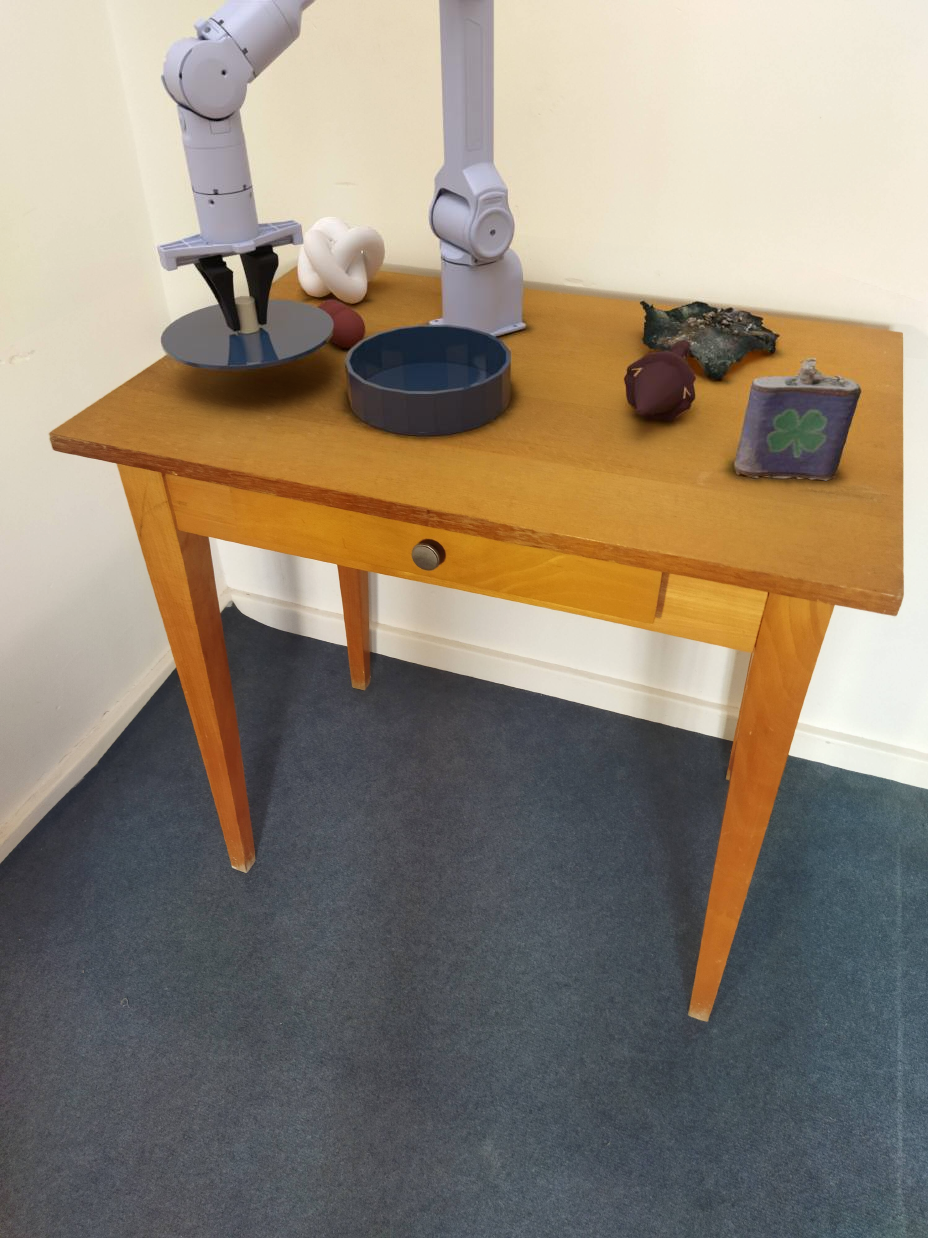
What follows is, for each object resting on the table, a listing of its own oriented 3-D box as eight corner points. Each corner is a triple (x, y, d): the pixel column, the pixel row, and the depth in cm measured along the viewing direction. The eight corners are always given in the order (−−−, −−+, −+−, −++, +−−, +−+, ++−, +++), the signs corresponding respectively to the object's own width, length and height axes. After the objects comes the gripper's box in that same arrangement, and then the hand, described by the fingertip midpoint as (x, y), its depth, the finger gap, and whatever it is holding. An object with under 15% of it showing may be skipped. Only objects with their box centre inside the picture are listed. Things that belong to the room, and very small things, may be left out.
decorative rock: (678, 274, 111) (800, 285, 104) (673, 323, 114) (791, 337, 107) (619, 314, 97) (755, 330, 91) (616, 368, 101) (747, 387, 94)
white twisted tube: (371, 273, 125) (365, 205, 119) (403, 300, 116) (398, 229, 111) (294, 286, 121) (284, 217, 115) (321, 315, 113) (312, 243, 107)
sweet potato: (342, 326, 110) (338, 291, 107) (373, 348, 105) (370, 311, 102) (310, 334, 108) (306, 298, 105) (340, 356, 103) (336, 319, 100)
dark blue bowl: (454, 351, 104) (453, 312, 101) (542, 406, 92) (544, 364, 90) (322, 388, 97) (317, 348, 94) (400, 452, 85) (397, 409, 83)
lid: (292, 296, 104) (286, 259, 101) (364, 347, 92) (360, 307, 90) (140, 331, 97) (130, 292, 94) (198, 392, 85) (188, 349, 82)
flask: (734, 477, 81) (758, 366, 74) (731, 461, 83) (753, 352, 76) (838, 482, 80) (872, 370, 73) (831, 465, 82) (863, 355, 75)
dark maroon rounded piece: (691, 394, 80) (724, 346, 91) (618, 362, 81) (658, 318, 92) (661, 459, 84) (696, 405, 96) (592, 427, 86) (634, 378, 97)
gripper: (162, 209, 79) (194, 353, 88) (308, 183, 85) (325, 321, 94) (138, 192, 84) (171, 331, 93) (278, 169, 90) (297, 301, 99)
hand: (246, 324), depth 94 cm, fingers closed on lid, 2 cm apart
